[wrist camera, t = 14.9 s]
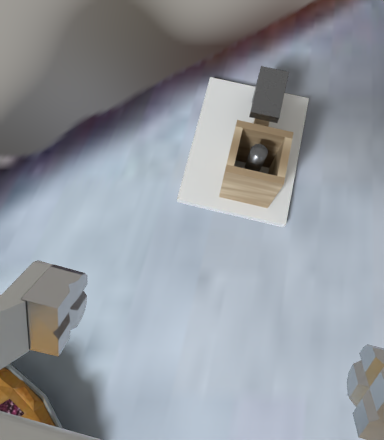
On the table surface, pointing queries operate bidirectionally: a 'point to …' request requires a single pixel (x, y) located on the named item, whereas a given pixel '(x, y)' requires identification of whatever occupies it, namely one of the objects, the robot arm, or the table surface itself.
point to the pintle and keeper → (266, 108)
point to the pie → (24, 398)
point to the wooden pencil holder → (276, 162)
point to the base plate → (220, 147)
